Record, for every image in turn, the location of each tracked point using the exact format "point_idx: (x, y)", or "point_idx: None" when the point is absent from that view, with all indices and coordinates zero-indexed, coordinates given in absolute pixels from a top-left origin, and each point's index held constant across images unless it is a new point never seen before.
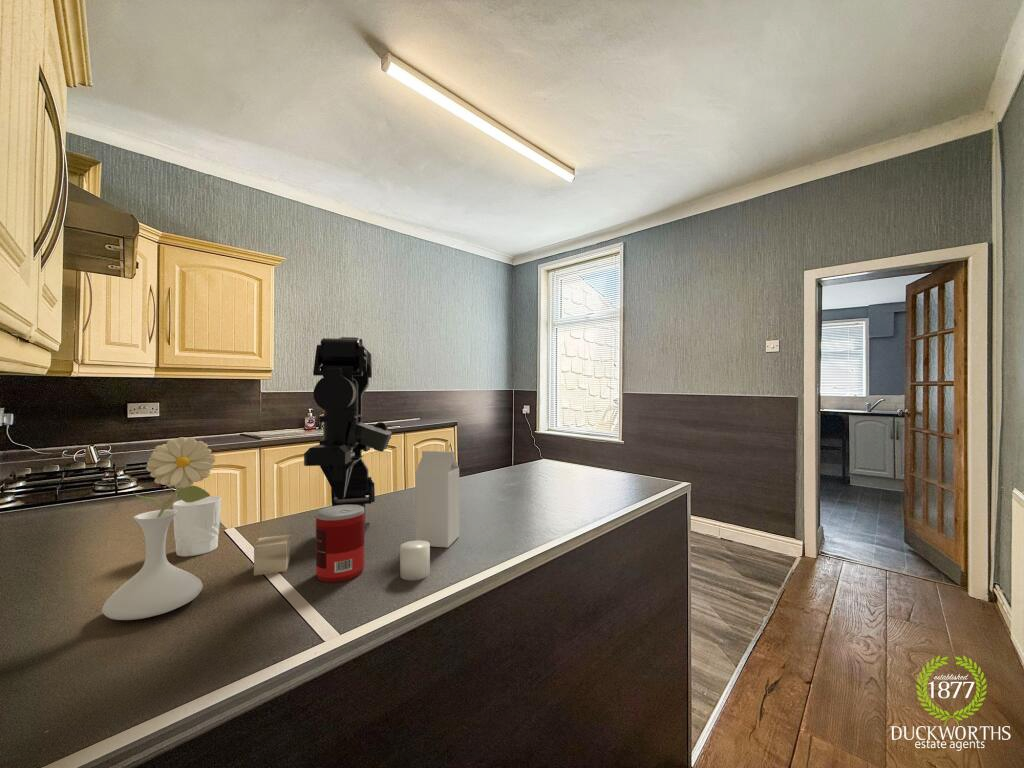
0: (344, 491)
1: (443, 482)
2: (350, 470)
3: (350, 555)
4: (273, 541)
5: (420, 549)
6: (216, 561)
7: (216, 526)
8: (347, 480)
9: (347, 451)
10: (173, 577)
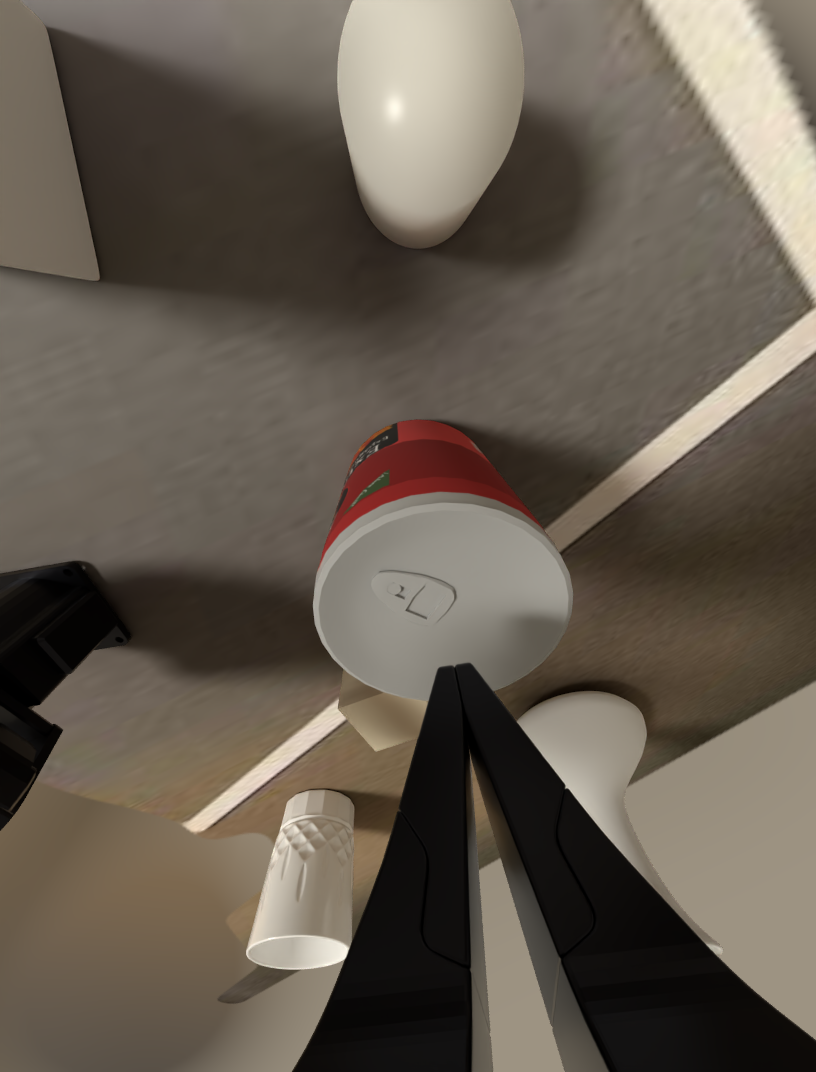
0: (494, 699)
1: None
2: (431, 932)
3: (485, 457)
4: (401, 714)
5: (512, 7)
6: (368, 757)
7: (301, 847)
8: (462, 790)
9: None
10: (606, 754)
